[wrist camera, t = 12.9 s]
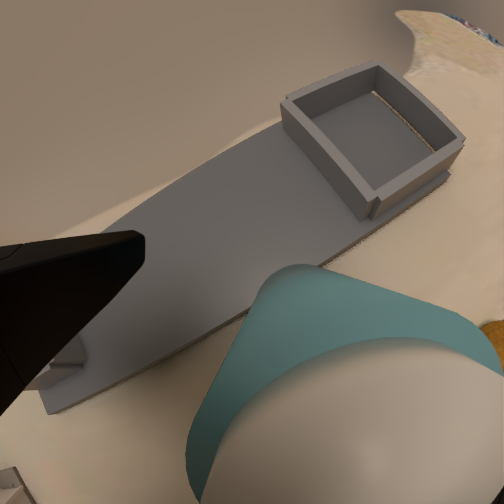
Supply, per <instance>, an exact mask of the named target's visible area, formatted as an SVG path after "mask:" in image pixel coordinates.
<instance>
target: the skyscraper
mask: <svg viewBox="0 0 504 504" xmlns="http://www.w3.org/2000/svg"><path fill="white" fill-rule="evenodd" d="M0 504H36V503H35V501H34V500H33V498H32V496H31V495H30V493H29V491H28V489H27V488H26V486H25V484H24V482H23V480H22V479H21V477H20V475H19V473H18V471H17V469H16V467H12V468H8V469H5V470H1V471H0Z"/></svg>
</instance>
